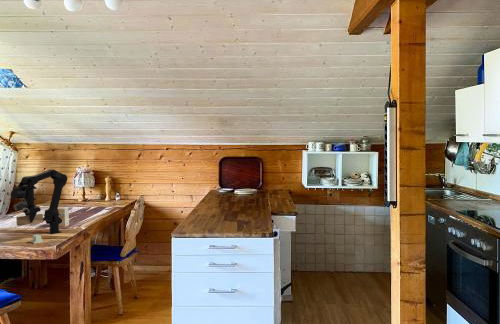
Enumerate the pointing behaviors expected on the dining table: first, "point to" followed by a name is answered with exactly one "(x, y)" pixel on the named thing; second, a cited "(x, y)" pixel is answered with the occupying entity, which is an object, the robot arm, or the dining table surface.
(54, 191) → the robot arm
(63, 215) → the supplement box
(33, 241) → the fulcrum
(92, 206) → the dining table surface
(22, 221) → the brown rectangular block
